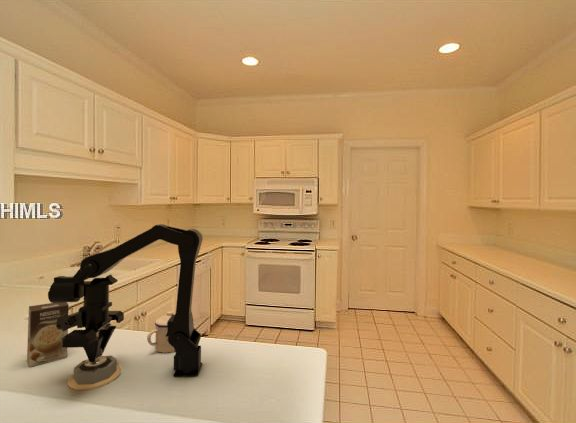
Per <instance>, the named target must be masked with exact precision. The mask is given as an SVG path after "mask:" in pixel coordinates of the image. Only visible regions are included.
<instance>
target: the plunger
mask: <svg viewBox="0 0 576 423" xmlns="http://www.w3.org/2000/svg"><path fill="white" fill-rule="evenodd" d="M101 354H102V348H101V347H100V348H99V351H98V354H97V357H96V360H95V362H89V359H88V358H87V359H88V360H87V359H85V360H86V361H85V367H93V371H94V370H97V369H98V366H99V365H102V364H104V363H105V362H106V361H107V357H106V356H107V355H103V354H102V356H101Z"/></svg>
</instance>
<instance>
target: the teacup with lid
mask: <svg viewBox="0 0 576 423" xmlns="http://www.w3.org/2000/svg"><path fill="white" fill-rule="evenodd" d="M172 314H174V315H175V313H174V311H173V310H168V311H167V312H166V314H165V315H163V316H161V317H158V318H157V319H156V320H155V322H154V325H155V329H152V330H150V331H149V332H148V334H147V336H146V337H147V338H146V339H147V340H146V341H147V343H148V344H149V345H150V346H153V347H155V350H156V352H158V353H161V352H162V354H163V353H164V354H167V353H168V352H169V353H173V352H175V349H174V347H172V346H171V345H170V344H169V342H168V336H167V337H165V336H166V334H167V331H168V328H167V322H168V320H169V319H170V317H171V316H172ZM153 334H155V342H152V340H151V339H152V336H153Z"/></svg>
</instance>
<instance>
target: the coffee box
mask: <svg viewBox="0 0 576 423" xmlns="http://www.w3.org/2000/svg"><path fill="white" fill-rule="evenodd" d="M68 303H69V302H62V303H52V302H49V303H44V304H43V303H42V304H36V305H29V306H28V318H27V319H28V321H27V322H28V323H27V347H26V348H27V351H26V352H27V354H26V355H27V357H26V361H27V366H28V367H29V368H32V367H35V366H39V365H43V364H47V363H50V362H54V361H59V360H62V359H67V358H68V349H69V348H62V338H63V337H64V336H65V335H67V334H69V329H67V330H66V331H62V329H61V330H59V329H58V328H57V327H56V323H57V318H58V317H60V316H63V315H65V314H68V315H69V304H68Z"/></svg>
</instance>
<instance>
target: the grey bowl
mask: <svg viewBox="0 0 576 423" xmlns="http://www.w3.org/2000/svg"><path fill="white" fill-rule="evenodd" d="M105 356H106V357H107V361H106V362H105V363H104V364H102V365H99V366H98V369H97V370H94V371H93V367H85V361H86V360H88V358H87V359H84V360H82V361H81V362H79V363H78V364H77V365H75V366H74V367H73V374H72V375H71V376H70V377H69V379H68V380H67V386H68V388H69V389H70V390H75V391H89V390H94V389H97V388H100V387H103V386H106V385H109V384H110V383H111V382H113V381H115V380H117V379H118V378H119V377H120V376H121V374H122V368H121V366H120V365H118V363H117V362H118V360H117V359H116V358H115V357H114V356H112V355H105Z"/></svg>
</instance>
